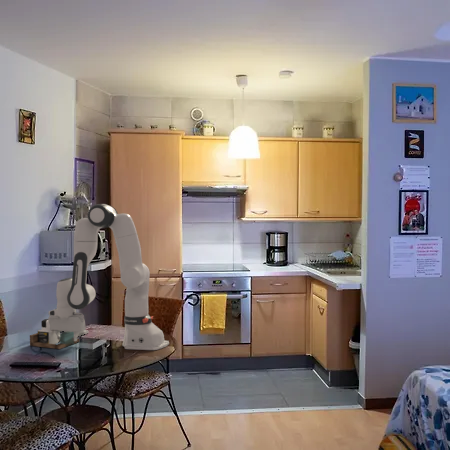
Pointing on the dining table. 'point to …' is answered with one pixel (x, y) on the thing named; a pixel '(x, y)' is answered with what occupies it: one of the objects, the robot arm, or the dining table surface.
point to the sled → (64, 342)
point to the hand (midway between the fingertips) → (67, 340)
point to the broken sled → (81, 332)
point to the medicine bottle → (47, 333)
